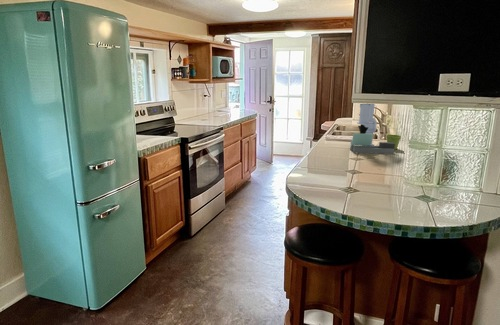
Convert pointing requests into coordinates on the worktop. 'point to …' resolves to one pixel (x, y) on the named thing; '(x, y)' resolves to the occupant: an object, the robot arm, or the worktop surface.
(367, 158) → the worktop surface
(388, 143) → the block
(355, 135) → the cover
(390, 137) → the plant pot
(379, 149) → the grey frame
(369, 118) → the robot arm
